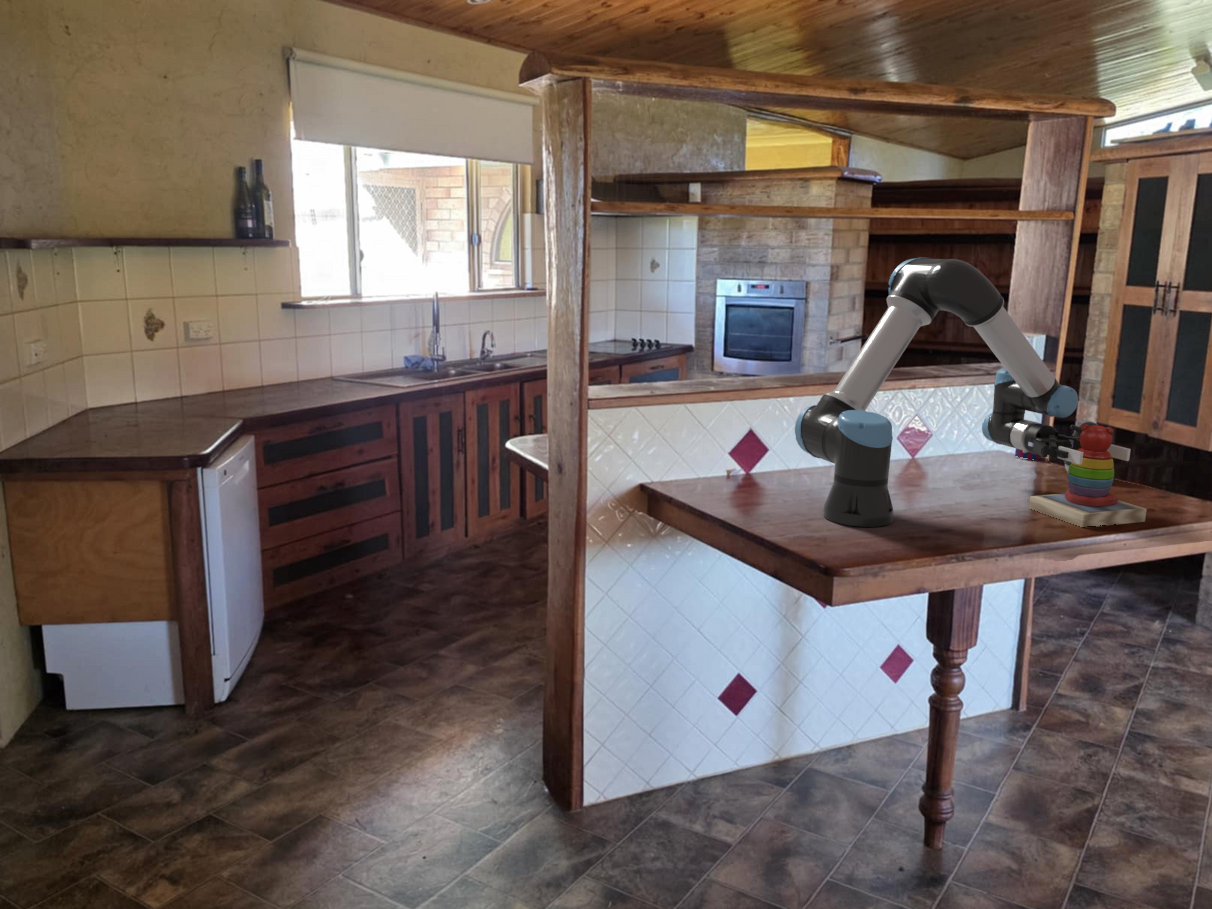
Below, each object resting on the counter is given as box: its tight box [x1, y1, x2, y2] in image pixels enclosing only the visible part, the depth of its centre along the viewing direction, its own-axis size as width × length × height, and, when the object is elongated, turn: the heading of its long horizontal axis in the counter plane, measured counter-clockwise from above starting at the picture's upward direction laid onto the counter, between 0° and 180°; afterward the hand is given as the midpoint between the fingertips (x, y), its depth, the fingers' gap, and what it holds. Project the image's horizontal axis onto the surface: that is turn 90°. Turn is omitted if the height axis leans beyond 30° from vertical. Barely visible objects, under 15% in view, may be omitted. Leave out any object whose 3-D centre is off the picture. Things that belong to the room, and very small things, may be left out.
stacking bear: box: [1064, 424, 1119, 507], centre depth 218 cm, size 11×10×18 cm
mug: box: [1014, 448, 1043, 461], centre depth 278 cm, size 7×10×7 cm
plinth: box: [1028, 493, 1147, 528], centre depth 220 cm, size 18×16×3 cm
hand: (1105, 456), depth 214 cm, fingers open, 13 cm apart
